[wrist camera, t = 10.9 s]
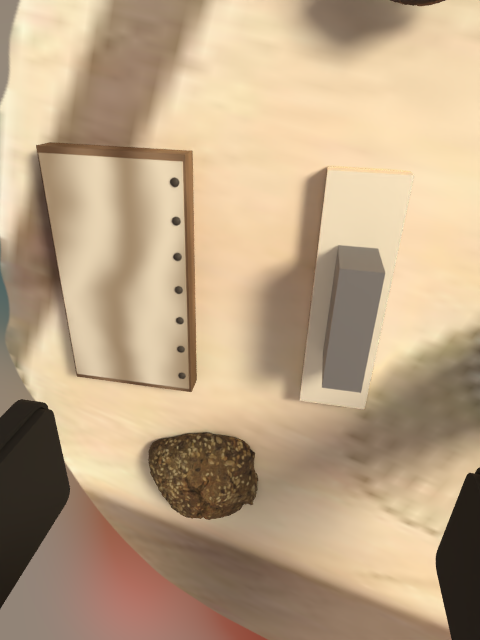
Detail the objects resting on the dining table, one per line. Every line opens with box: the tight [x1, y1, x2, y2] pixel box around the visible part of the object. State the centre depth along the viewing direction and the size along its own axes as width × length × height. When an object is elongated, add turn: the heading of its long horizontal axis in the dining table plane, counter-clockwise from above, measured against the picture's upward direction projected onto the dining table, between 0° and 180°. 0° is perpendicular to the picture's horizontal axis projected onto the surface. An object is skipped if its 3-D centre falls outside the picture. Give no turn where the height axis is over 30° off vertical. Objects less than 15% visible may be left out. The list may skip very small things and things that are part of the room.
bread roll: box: [149, 433, 258, 520], centre depth 49 cm, size 13×12×5 cm
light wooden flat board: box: [36, 143, 197, 392], centre depth 40 cm, size 12×22×2 cm, turn 178°
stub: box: [300, 166, 414, 409], centre depth 35 cm, size 6×21×7 cm, turn 178°
